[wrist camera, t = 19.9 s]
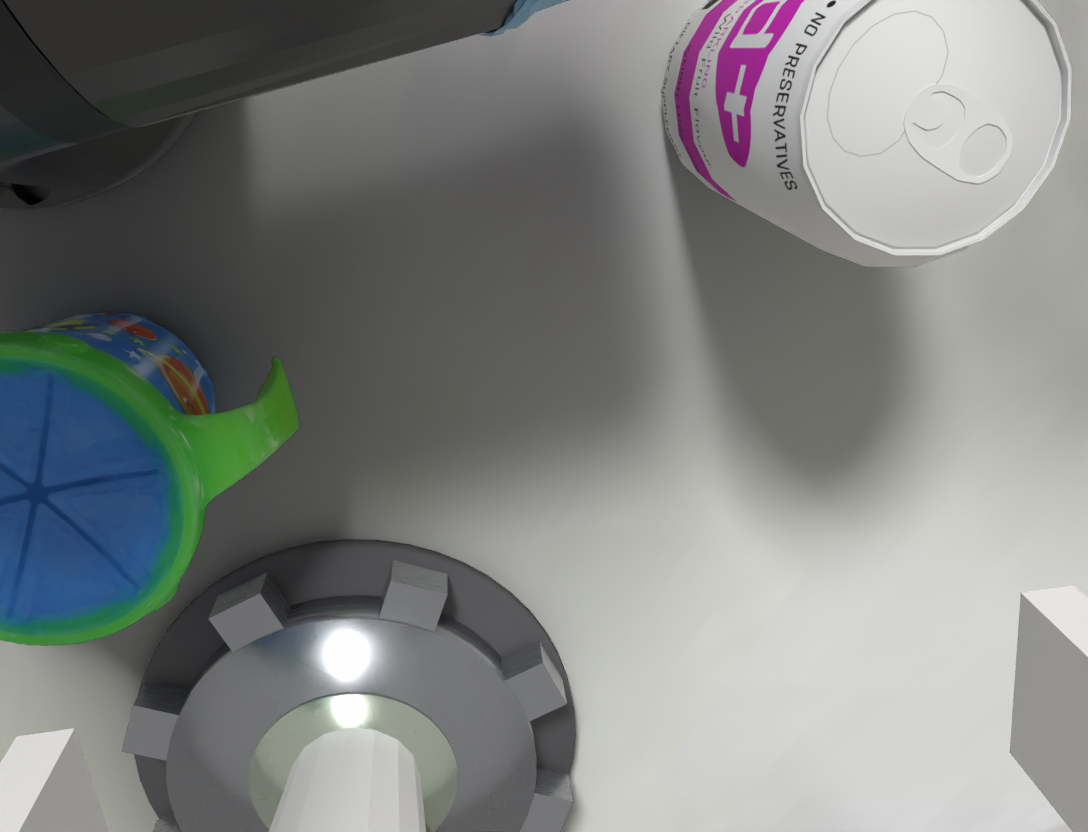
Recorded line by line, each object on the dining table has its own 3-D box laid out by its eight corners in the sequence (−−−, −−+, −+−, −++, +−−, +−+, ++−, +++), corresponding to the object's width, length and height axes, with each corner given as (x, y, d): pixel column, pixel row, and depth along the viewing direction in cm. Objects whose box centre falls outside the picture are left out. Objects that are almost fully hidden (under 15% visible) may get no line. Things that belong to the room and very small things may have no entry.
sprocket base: (56, 780, 47) (48, 795, 46) (297, 454, 43) (294, 463, 42) (411, 955, 53) (411, 971, 52) (657, 683, 48) (662, 696, 47)
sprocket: (283, 972, 51) (250, 1158, 42) (44, 680, 44) (-52, 831, 35) (639, 810, 49) (678, 969, 41) (448, 482, 42) (449, 590, 34)
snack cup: (-35, 539, 43) (-174, 681, 33) (-117, 294, 39) (-298, 374, 30) (337, 492, 43) (307, 617, 34) (292, 247, 40) (244, 312, 30)
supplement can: (617, 132, 39) (712, 180, 25) (736, -70, 37) (911, -138, 23) (785, 236, 41) (958, 334, 27) (907, 51, 39) (1162, 55, 25)
